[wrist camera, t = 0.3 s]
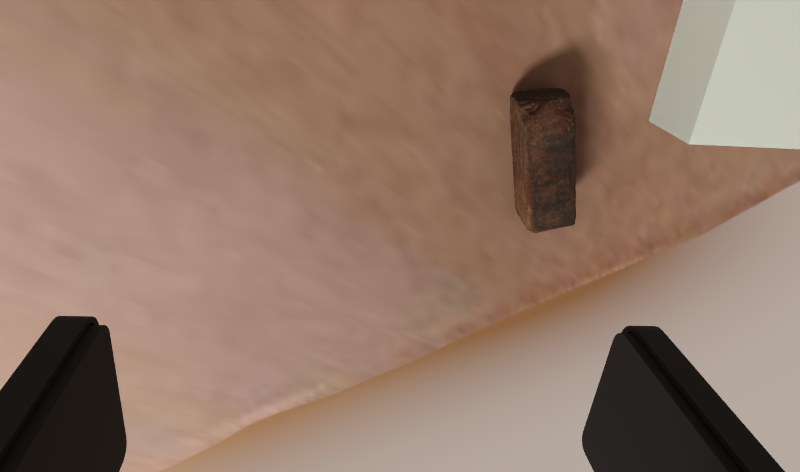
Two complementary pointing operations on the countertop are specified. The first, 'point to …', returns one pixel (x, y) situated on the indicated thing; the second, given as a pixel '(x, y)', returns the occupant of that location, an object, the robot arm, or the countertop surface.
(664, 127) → the sage block
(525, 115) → the brick
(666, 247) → the countertop surface
